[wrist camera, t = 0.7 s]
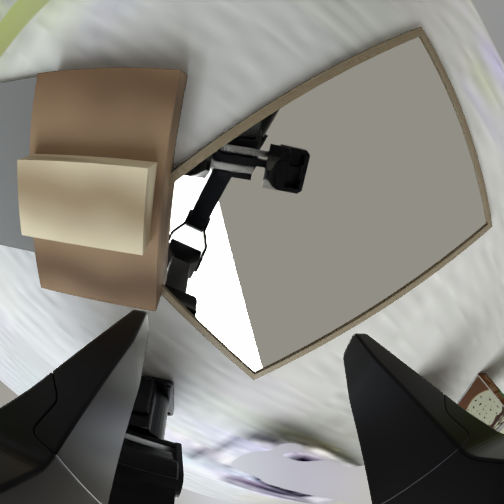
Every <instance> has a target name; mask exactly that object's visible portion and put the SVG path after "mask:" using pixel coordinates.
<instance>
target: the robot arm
mask: <svg viewBox="0 0 504 504" xmlns="http://www.w3.org/2000/svg"><path fill="white" fill-rule="evenodd" d="M148 335H149V332H148V314H147V312H145V311H139V310H133V311H131V312H130V313H128V314H127V315H126V316H124V317H123V318H122V319H120V320H119V321H118V322H116V323H115V324H114V325H113V326H111V327H110V328H109V329H107V330H106V331H105V332H103V333H102V334H101V335H99V336H98V337H97V338H95V339H94V340H93V341H91V342H90V343H89V344H87V345H86V346H85V347H84V348H82V349H81V350H80V351H78V352H77V353H76V354H74V355H73V356H72V357H71V358H69V359H68V360H67V361H65V362H64V363H63V364H62V365H60V366H59V367H58V368H56V369H55V370H54V371H53V373H50V374H49V375H47V376H46V377H45V378H44V379H42V380H41V381H40V382H38V383H37V384H36V385H34V386H33V387H32V388H30V389H29V390H27V391H26V392H24V393H23V394H21V395H20V396H18V397H17V398H15V399H14V400H12V401H11V402H9V403H7V404H6V405H4V406H3V407H1V408H0V504H174V500H175V499H177V498H178V497H179V495H180V493H181V489H182V485H183V477H184V475H183V461H182V447H181V444H180V443H173V442H170V441H166V440H164V434H165V427H166V419H167V415H168V416H172V415H173V382H171V381H169V380H163V379H157V378H151V377H146V376H141V375H142V369H143V364H144V358H145V353H146V348H147V343H148ZM343 359H344V366H345V373H346V380H347V387H348V394H349V400H350V404H351V408H352V412H353V416H354V421H355V425H356V429H357V433H358V438H359V442H360V446H361V451H362V455H363V460H364V465H365V470H366V474H367V479H368V484H369V489H370V495H371V500H372V504H504V434H502V433H500V432H498V431H496V430H495V429H493V428H492V427H490V426H489V425H487V424H486V423H484V422H483V421H481V420H480V419H478V418H476V417H475V416H473V415H472V414H470V413H469V412H468V411H466V410H465V409H463V408H462V407H460V406H459V405H458V404H456V403H455V402H454V401H452V400H451V399H450V398H449V397H447V396H446V395H443V393H442V392H441V391H440V390H438V389H437V388H436V387H434V386H433V385H432V384H430V383H429V382H428V381H427V380H425V379H424V378H423V377H421V376H420V375H419V374H418V373H416V372H415V371H414V370H412V369H411V368H410V367H409V366H407V365H406V364H405V363H403V362H402V361H401V360H399V359H398V358H397V357H396V356H394V355H393V354H392V353H390V352H389V351H388V350H387V349H385V348H384V347H383V346H381V345H380V344H379V343H377V342H376V341H375V340H374V339H372V338H371V337H370V336H368V335H367V334H354V335H353V336H352V338H351V340H350V342H349V344H348V346H347V348H346V350H345V352H344V357H343Z"/></svg>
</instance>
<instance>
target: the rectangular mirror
mask: <svg viewBox="0 0 504 504" xmlns="http://www.w3.org/2000/svg"><path fill="white" fill-rule="evenodd" d="M491 227H492V221H491V215H490V209H489V204H488V199H487V194H486V189H485V185H484V181H483V176H482V172H481V168H480V165H479V161H478V157H477V154H476V150H475V147H474V144H473V141H472V137H471V134H470V131H469V128H468V126H467V123H466V120H465V117H464V114H463V112H462V109H461V107H460V104H459V102H458V99H457V97H456V94H455V92H454V90H453V87H452V85H451V83H450V80H449V78H448V76H447V74H446V72H445V70H444V68H443V66H442V64H441V62H440V60H439V58H438V56H437V54H436V52H435V50H434V48H433V46H432V44H431V43H430V41H429V39H428V37H427V36H426V34H425V32H424V30H423V29H422V27H420V28H417V29H414V30H412V31H409V32H407V33H404V34H402V35H400V36H397V37H395V38H392V39H390V40H388V41H386V42H383V43H381V44H379V45H377V46H374V47H372V48H370V49H368V50H366V51H364V52H362V53H360V54H357V55H355V56H353V57H351V58H349V59H347V60H345V61H343V62H341V63H339V64H338V65H336V66H334V67H332V68H330V69H328V70H326V71H324V72H322V73H321V74H319V75H317V76H315V77H313V78H312V79H310V80H308V81H306V82H304V83H303V84H301V85H299V86H298V87H296V88H294V89H292V90H291V91H289V92H287V93H286V94H284V95H282V96H281V97H279V98H277V99H276V100H274V101H273V102H271V103H269V104H268V105H266V106H265V107H263V108H261V109H260V110H258V111H257V112H255V113H254V114H252V115H251V116H249V117H248V118H246V119H245V120H243V121H242V122H240V123H239V124H237V125H236V126H234V127H233V128H231V129H230V130H228V131H227V132H226V133H224V134H223V135H221V136H220V137H218V138H217V139H216V140H214V141H213V142H211V143H210V144H209V145H207V146H206V147H205V148H203V149H202V150H200V151H199V152H198V153H196V154H195V155H194V156H192V157H191V158H190V159H189V160H187V161H186V162H185V163H183V164H182V165H181V166H179V167H178V168H177V169H176V170H174V171H173V172H172V173H171V174H170V180H169V193H168V203H167V213H166V224H165V236H164V251H163V267H162V285H161V295H162V296H163V297H164V298H165V299H166V300H167V301H168V302H169V303H170V304H171V305H172V306H173V307H174V308H175V309H176V310H177V311H178V312H179V313H180V314H181V315H182V316H183V317H184V318H185V319H187V320H188V321H189V322H190V323H191V324H192V325H193V326H194V327H195V328H196V329H197V330H198V331H199V332H200V333H201V334H202V335H203V336H204V337H206V338H207V339H208V340H209V341H210V342H211V343H212V344H213V345H214V346H215V347H216V348H218V349H219V350H220V351H221V352H222V353H223V354H224V355H225V356H227V357H228V358H229V359H230V360H231V361H232V362H233V363H235V364H236V365H237V366H238V367H239V368H240V369H241V370H243V371H244V372H245V373H246V374H247V375H248V376H250V377H251V378H252V379H253V380H255V379H257V378H259V377H261V376H263V375H265V374H267V373H269V372H271V371H273V370H275V369H278V368H280V367H282V366H284V365H286V364H288V363H289V362H291V361H293V360H295V359H297V358H299V357H301V356H303V355H305V354H307V353H309V352H311V351H312V350H314V349H316V348H318V347H320V346H322V345H323V344H325V343H327V342H329V341H330V340H332V339H334V338H336V337H338V336H339V335H341V334H343V333H344V332H346V331H348V330H349V329H351V328H353V327H355V326H356V325H358V324H359V323H361V322H363V321H364V320H366V319H368V318H369V317H371V316H372V315H374V314H376V313H377V312H379V311H380V310H382V309H383V308H385V307H387V306H388V305H390V304H391V303H393V302H394V301H396V300H397V299H399V298H400V297H402V296H403V295H405V294H406V293H407V292H409V291H410V290H412V289H413V288H415V287H416V286H417V285H419V284H420V283H422V282H423V281H424V280H426V279H427V278H429V277H430V276H431V275H433V274H434V273H435V272H437V271H438V270H439V269H441V268H442V267H443V266H445V265H446V264H447V263H449V262H450V261H451V260H453V259H454V258H455V257H456V256H458V255H459V254H460V253H461V252H463V251H464V250H465V249H466V248H468V247H469V246H470V245H471V244H472V243H474V242H475V241H476V240H477V239H478V238H480V237H481V236H482V235H483V234H484V233H485V232H487V231H488V230H489V229H490V228H491Z"/></svg>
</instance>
